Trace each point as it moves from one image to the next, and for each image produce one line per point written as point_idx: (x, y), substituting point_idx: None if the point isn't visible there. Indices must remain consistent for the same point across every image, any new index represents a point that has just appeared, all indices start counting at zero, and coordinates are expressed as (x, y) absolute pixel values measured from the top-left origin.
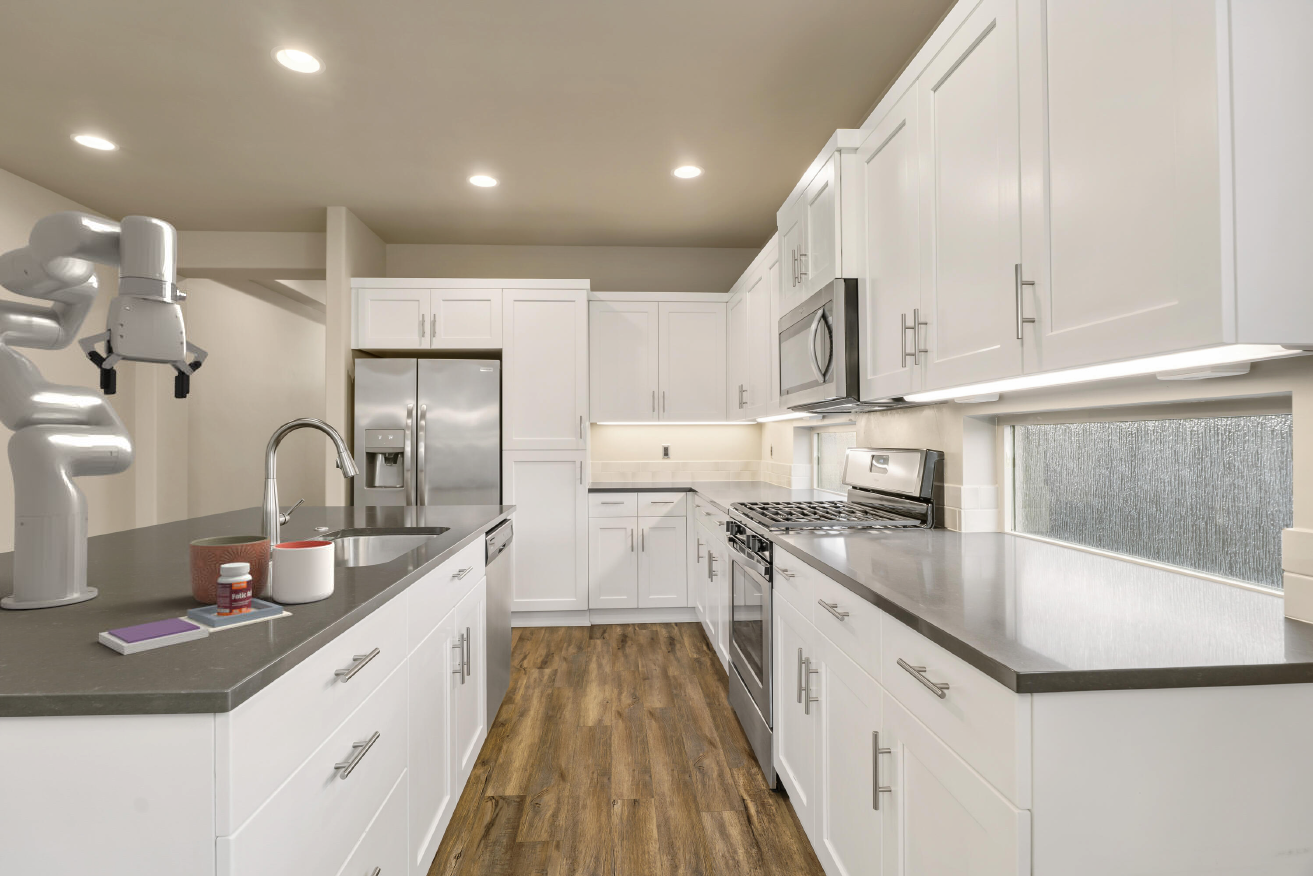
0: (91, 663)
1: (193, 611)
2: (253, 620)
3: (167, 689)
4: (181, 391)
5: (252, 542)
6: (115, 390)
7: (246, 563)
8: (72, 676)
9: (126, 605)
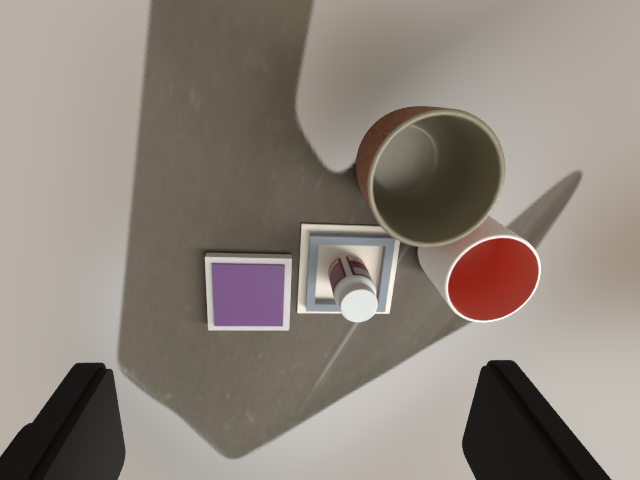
0: (181, 327)
1: (311, 250)
2: None
3: (204, 434)
4: (477, 476)
5: (435, 246)
6: (116, 473)
7: (374, 308)
8: (160, 353)
9: (296, 55)
